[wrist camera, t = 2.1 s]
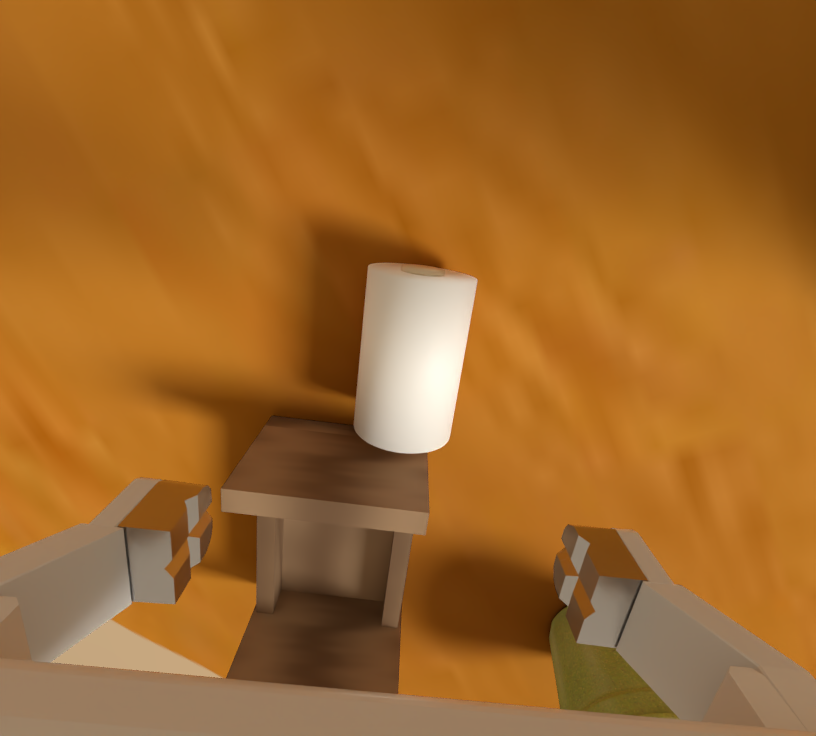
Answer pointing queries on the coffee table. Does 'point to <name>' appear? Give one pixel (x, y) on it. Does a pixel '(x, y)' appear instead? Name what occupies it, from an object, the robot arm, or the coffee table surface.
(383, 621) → the walnut cradle
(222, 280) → the coffee table surface
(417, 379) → the paper roll
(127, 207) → the coffee table surface
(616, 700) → the plant pot
